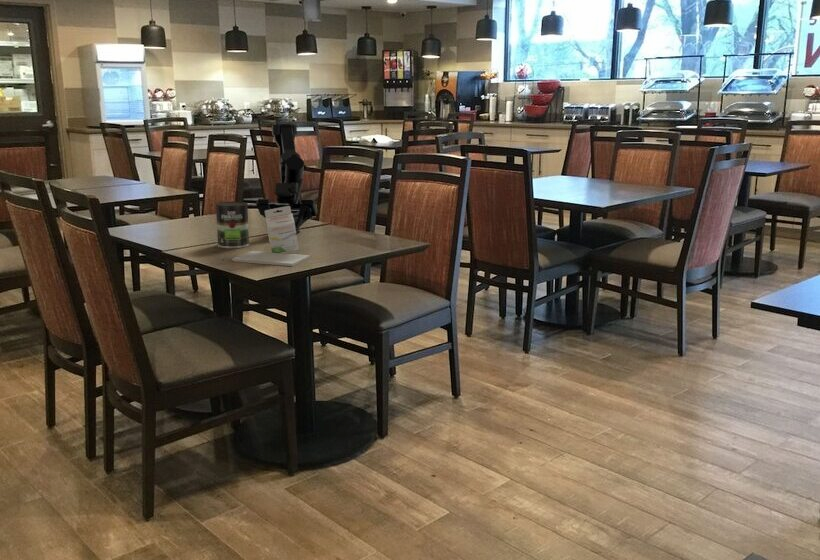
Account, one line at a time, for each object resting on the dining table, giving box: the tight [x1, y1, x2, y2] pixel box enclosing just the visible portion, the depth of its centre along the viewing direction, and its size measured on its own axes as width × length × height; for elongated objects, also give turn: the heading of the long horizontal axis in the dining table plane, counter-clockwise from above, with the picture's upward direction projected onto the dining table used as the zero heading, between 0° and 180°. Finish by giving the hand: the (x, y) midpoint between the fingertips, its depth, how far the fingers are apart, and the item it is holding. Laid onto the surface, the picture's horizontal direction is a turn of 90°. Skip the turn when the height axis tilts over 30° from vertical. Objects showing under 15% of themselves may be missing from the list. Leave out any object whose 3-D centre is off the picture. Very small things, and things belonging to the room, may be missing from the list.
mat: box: [231, 250, 311, 267], centre depth 226 cm, size 20×12×1 cm, turn 72°
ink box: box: [264, 206, 300, 253], centre depth 230 cm, size 9×5×15 cm
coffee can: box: [215, 201, 250, 250], centre depth 245 cm, size 10×10×14 cm
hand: (281, 228), depth 230 cm, fingers open, 9 cm apart
